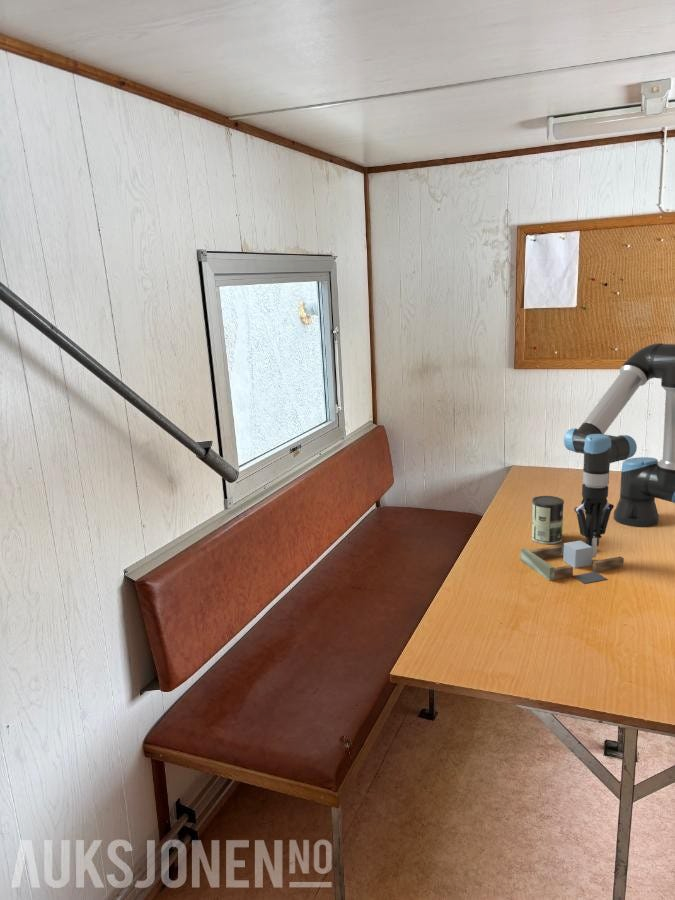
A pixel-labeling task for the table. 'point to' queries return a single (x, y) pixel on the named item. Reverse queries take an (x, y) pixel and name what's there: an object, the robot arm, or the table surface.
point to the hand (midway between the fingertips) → (591, 555)
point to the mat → (589, 577)
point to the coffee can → (547, 519)
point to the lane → (548, 571)
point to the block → (577, 554)
